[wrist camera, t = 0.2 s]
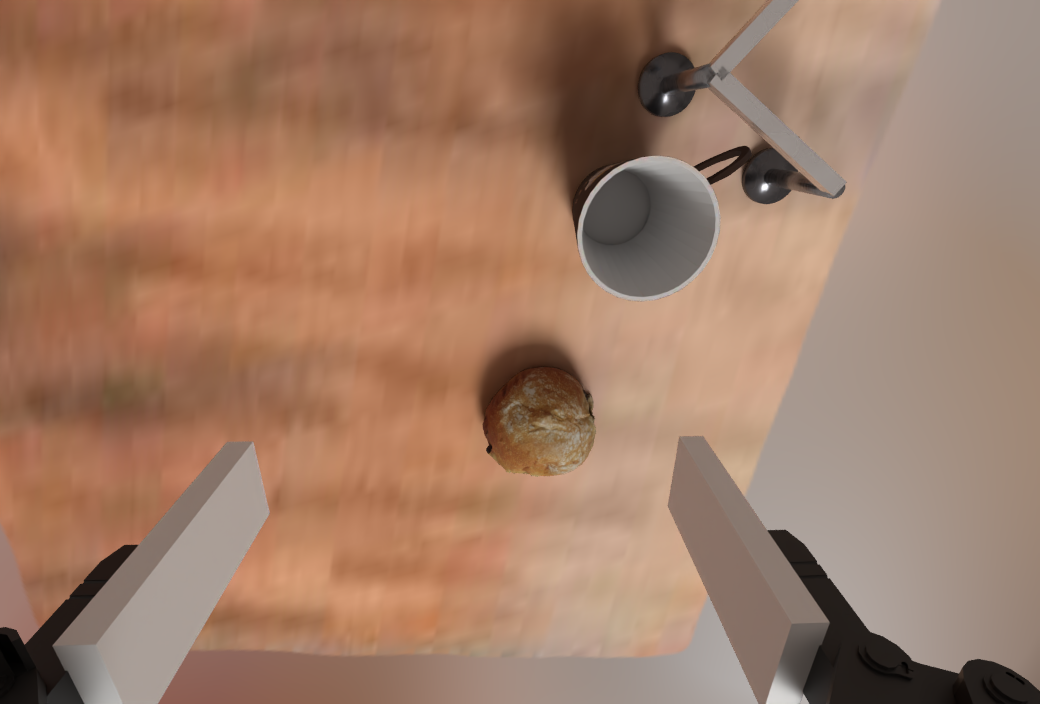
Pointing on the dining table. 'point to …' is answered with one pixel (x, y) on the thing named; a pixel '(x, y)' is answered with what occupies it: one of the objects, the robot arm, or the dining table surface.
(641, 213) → the coffee mug
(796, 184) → the bent wire
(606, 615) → the dining table surface
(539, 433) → the bread roll
